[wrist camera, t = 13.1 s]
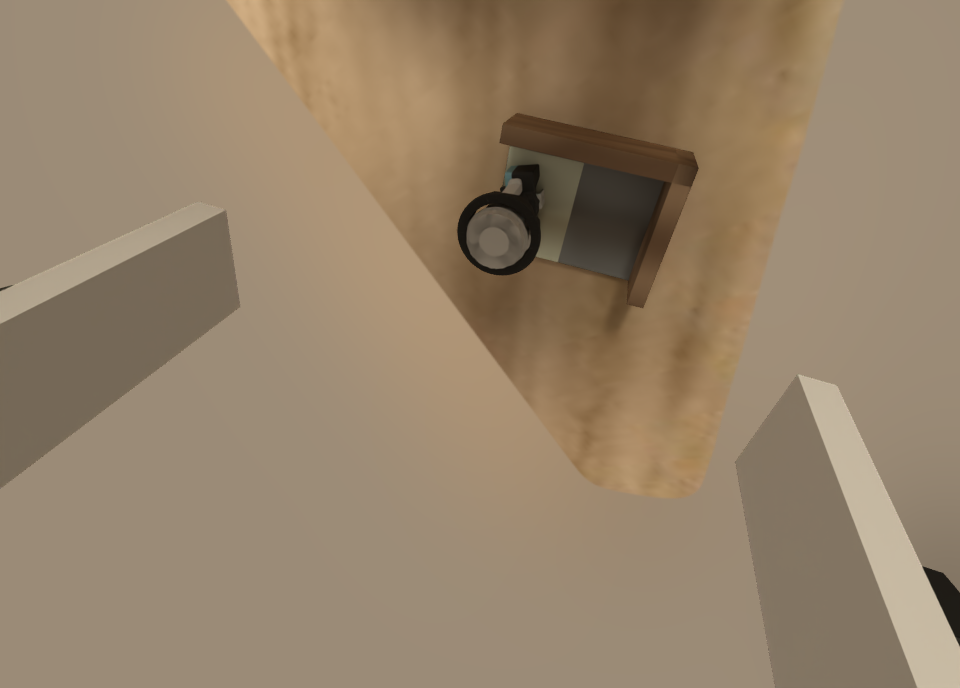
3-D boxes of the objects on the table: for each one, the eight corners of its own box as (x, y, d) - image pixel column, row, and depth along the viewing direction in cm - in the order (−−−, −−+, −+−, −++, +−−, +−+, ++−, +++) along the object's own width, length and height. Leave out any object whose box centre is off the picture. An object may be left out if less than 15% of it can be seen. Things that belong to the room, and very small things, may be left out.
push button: (561, 244, 40) (541, 301, 32) (497, 245, 42) (461, 299, 34) (558, 157, 37) (534, 196, 29) (488, 161, 38) (446, 200, 30)
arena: (516, 113, 37) (502, 123, 33) (693, 152, 35) (698, 168, 31) (493, 243, 42) (479, 264, 39) (643, 282, 41) (643, 308, 37)
